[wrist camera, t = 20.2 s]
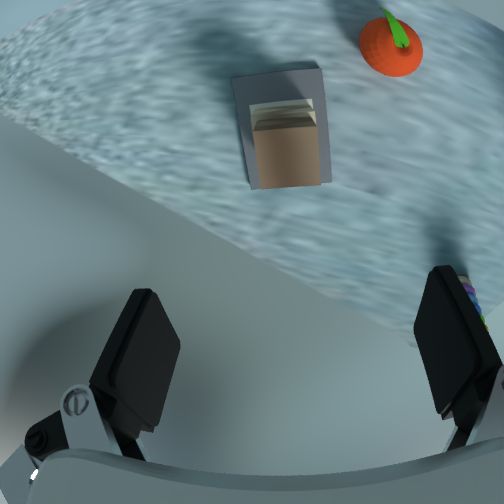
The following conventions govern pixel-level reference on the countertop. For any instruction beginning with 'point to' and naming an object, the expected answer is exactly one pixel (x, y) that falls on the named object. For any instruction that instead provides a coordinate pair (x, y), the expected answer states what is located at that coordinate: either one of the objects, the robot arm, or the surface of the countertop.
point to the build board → (281, 94)
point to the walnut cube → (287, 152)
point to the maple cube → (282, 113)
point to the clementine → (391, 46)
